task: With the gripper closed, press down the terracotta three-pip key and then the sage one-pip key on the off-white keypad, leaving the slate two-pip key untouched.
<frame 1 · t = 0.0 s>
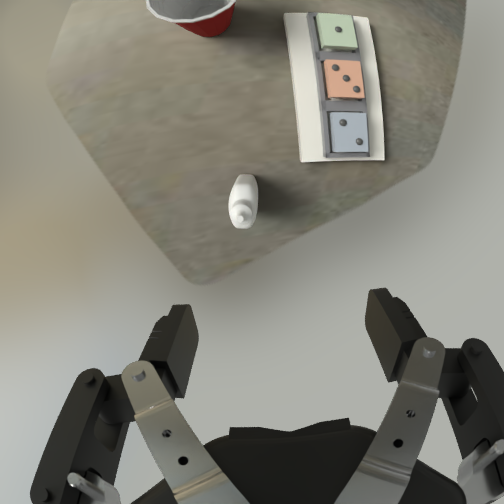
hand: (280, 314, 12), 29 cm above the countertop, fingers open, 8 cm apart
key three: (344, 79, 28), point 5 cm above the countertop, slide at 0.0 cm
plastic cup: (211, 20, 28), on the countertop
keypad: (335, 84, 32), on the countertop
key one: (336, 31, 25), point 5 cm above the countertop, slide at 0.0 cm
eye dropper bottle: (246, 192, 39), on the countertop
key two: (349, 132, 31), point 5 cm above the countertop, slide at 0.0 cm
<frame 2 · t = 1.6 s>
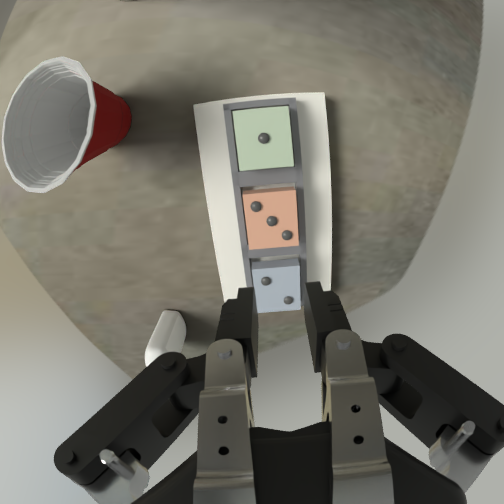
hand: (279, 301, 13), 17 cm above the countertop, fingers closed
key three: (271, 218, 24), point 5 cm above the countertop, slide at 0.0 cm
plastic cup: (111, 119, 25), on the countertop
keypad: (269, 204, 28), on the countertop
key one: (263, 137, 21), point 5 cm above the countertop, slide at 0.0 cm
eye dropper bottle: (174, 324, 36), on the countertop
key two: (277, 286, 27), point 5 cm above the countertop, slide at 0.0 cm
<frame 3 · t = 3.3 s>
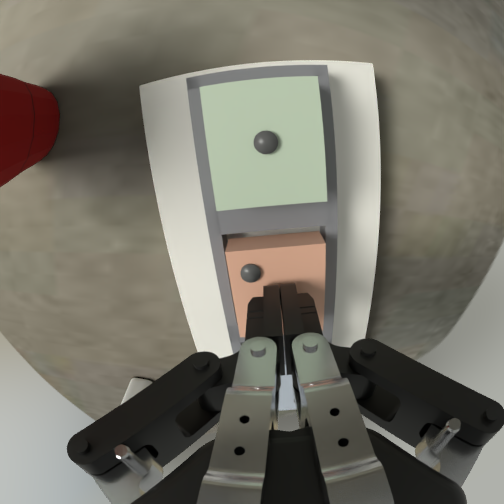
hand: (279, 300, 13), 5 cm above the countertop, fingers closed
key three: (278, 288, 14), point 4 cm above the countertop, slide at 0.4 cm, touching gripper
plastic cup: (37, 122, 14), on the countertop
keypad: (274, 251, 17), on the countertop
key one: (265, 141, 10), point 5 cm above the countertop, slide at 0.0 cm
eye dropper bottle: (148, 391, 25), on the countertop
key two: (284, 382, 16), point 5 cm above the countertop, slide at 0.0 cm
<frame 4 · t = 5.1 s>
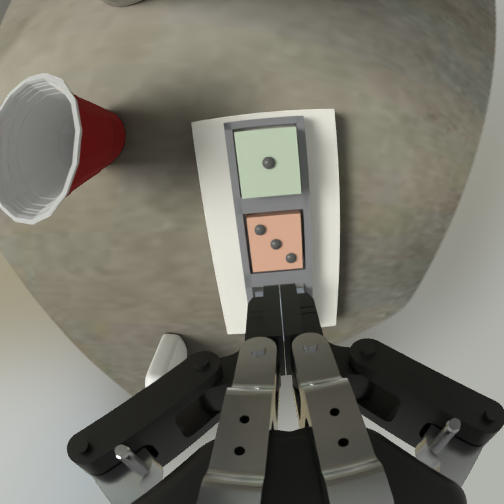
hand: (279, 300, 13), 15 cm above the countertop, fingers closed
key three: (275, 241, 24), point 3 cm above the countertop, slide at 1.6 cm
plastic cup: (104, 135, 24), on the countertop
keypad: (274, 229, 27), on the countertop
key one: (268, 161, 20), point 5 cm above the countertop, slide at 0.0 cm
eye dropper bottle: (175, 346, 34), on the countertop
key two: (281, 316, 26), point 5 cm above the countertop, slide at 0.0 cm
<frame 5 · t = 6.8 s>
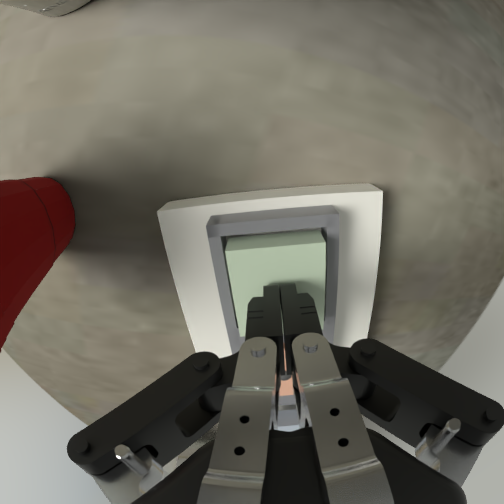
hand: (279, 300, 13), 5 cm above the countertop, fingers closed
key three: (283, 367, 17), point 3 cm above the countertop, slide at 1.6 cm
plastic cup: (50, 210, 16), on the countertop
keypad: (281, 337, 20), on the countertop
key one: (278, 287, 14), point 4 cm above the countertop, slide at 0.8 cm, touching gripper
key two: (286, 432, 19), point 5 cm above the countertop, slide at 0.0 cm
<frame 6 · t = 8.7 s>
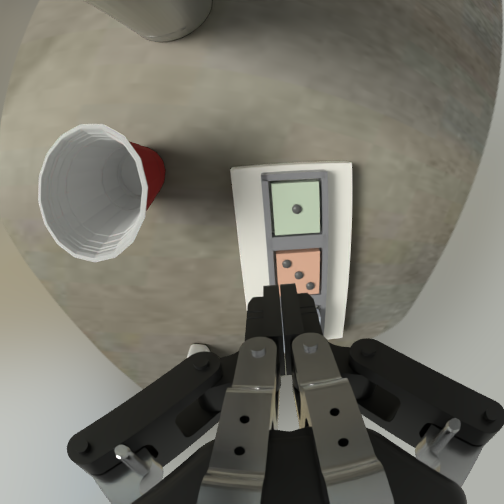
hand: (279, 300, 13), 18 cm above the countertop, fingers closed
key three: (298, 271, 29), point 3 cm above the countertop, slide at 1.6 cm
plastic cup: (143, 170, 28), on the countertop
keypad: (295, 259, 32), on the countertop
key one: (295, 207, 26), point 3 cm above the countertop, slide at 1.6 cm
eye dropper bottle: (201, 355, 39), on the countertop
key two: (299, 332, 31), point 5 cm above the countertop, slide at 0.0 cm
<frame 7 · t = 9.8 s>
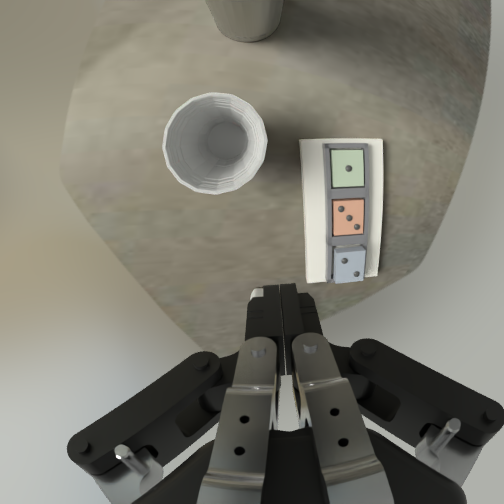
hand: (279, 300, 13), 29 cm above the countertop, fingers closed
key three: (347, 216, 38), point 3 cm above the countertop, slide at 1.6 cm
plastic cup: (227, 139, 37), on the countertop
keypad: (342, 210, 41), on the countertop
key one: (347, 167, 35), point 3 cm above the countertop, slide at 1.6 cm
eye dropper bottle: (260, 299, 48), on the countertop
key two: (349, 265, 39), point 5 cm above the countertop, slide at 0.0 cm
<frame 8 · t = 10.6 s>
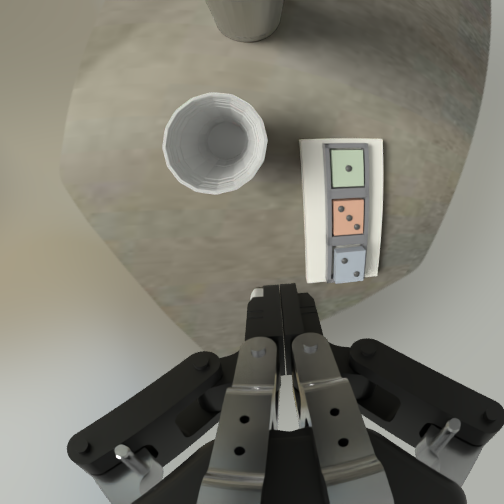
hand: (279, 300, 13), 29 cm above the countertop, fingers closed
key three: (347, 216, 38), point 3 cm above the countertop, slide at 1.6 cm
plastic cup: (227, 139, 37), on the countertop
keypad: (342, 210, 41), on the countertop
key one: (347, 167, 35), point 3 cm above the countertop, slide at 1.6 cm
eye dropper bottle: (260, 299, 48), on the countertop
key two: (349, 265, 39), point 5 cm above the countertop, slide at 0.0 cm
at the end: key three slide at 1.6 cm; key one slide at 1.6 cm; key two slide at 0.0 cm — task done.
